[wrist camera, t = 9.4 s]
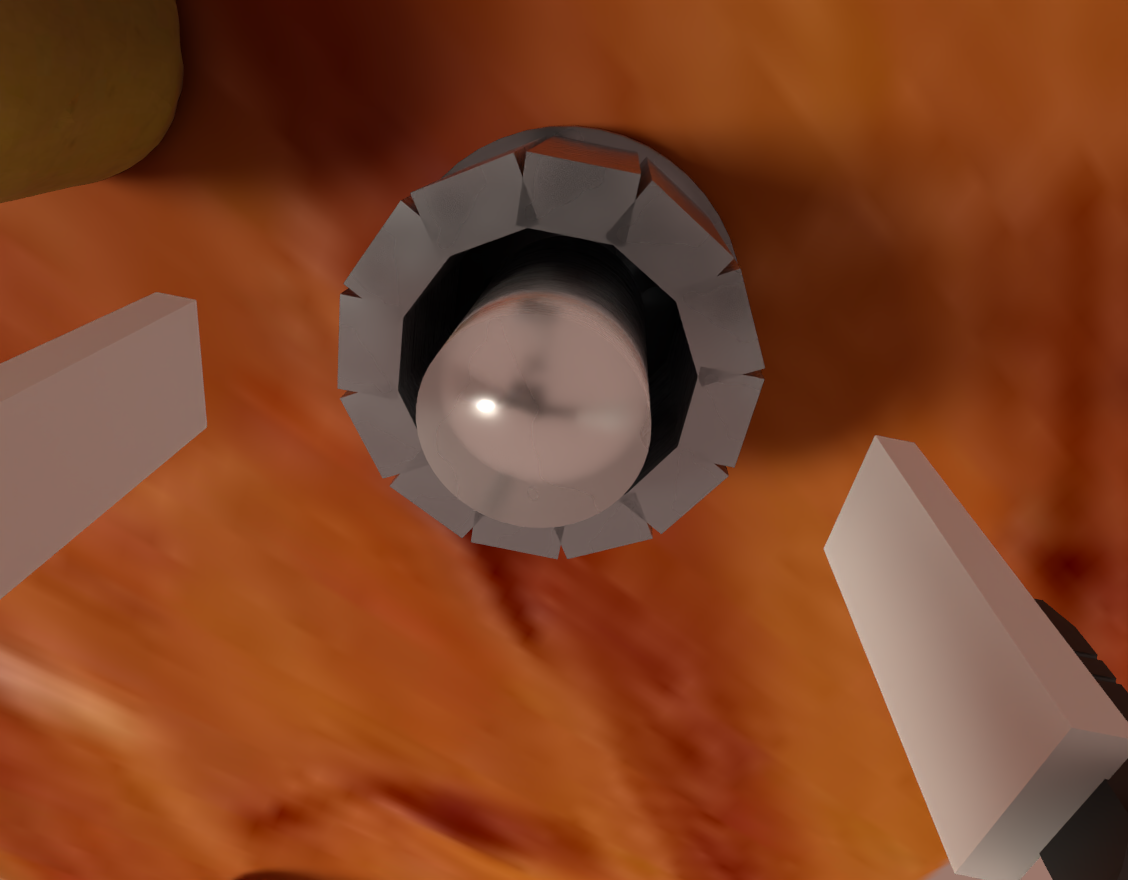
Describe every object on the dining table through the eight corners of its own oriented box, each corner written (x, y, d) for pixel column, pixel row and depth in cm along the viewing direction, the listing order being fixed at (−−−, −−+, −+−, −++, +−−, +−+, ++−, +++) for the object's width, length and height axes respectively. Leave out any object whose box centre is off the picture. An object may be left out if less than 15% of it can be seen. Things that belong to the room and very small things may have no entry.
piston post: (415, 91, 20) (271, 90, 12) (785, 165, 20) (888, 214, 12) (392, 424, 25) (280, 580, 17) (688, 483, 25) (714, 666, 17)
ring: (423, 108, 19) (344, 115, 14) (769, 178, 19) (821, 210, 14) (400, 420, 24) (334, 514, 19) (680, 476, 24) (694, 586, 19)
